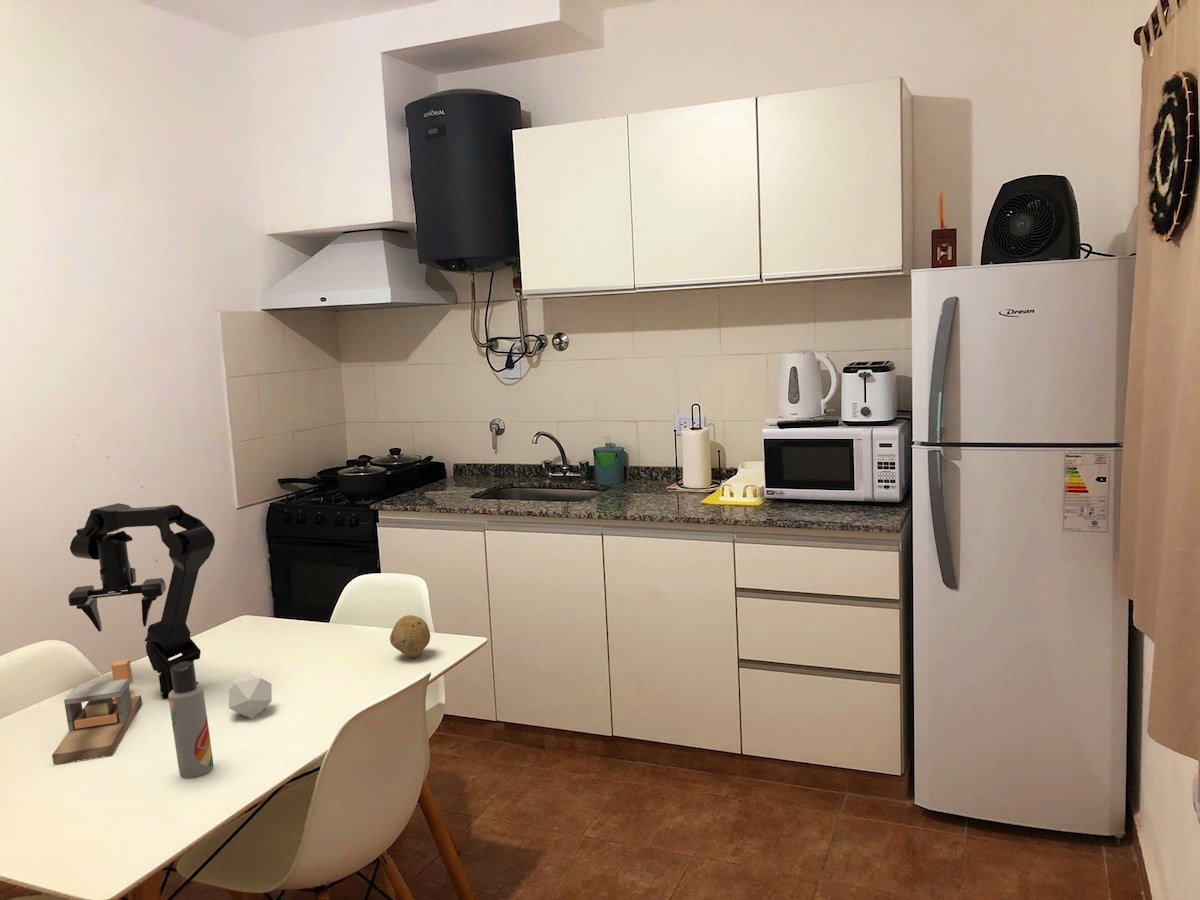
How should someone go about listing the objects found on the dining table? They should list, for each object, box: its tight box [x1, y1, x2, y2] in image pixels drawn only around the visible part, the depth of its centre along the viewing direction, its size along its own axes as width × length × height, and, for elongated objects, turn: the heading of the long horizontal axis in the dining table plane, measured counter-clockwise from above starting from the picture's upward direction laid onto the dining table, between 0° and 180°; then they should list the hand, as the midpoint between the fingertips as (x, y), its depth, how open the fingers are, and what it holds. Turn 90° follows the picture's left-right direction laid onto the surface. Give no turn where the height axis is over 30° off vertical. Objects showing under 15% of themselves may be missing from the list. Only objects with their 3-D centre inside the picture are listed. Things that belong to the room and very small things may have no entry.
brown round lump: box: [389, 614, 431, 659], centre depth 217 cm, size 9×9×10 cm
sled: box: [74, 658, 134, 729], centre depth 197 cm, size 8×24×5 cm, turn 14°
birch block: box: [84, 698, 114, 718], centre depth 189 cm, size 4×4×4 cm
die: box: [228, 672, 273, 720], centre depth 192 cm, size 8×9×10 cm
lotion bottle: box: [168, 661, 214, 779], centre depth 167 cm, size 6×6×20 cm
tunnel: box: [51, 679, 143, 765], centre depth 187 cm, size 10×25×8 cm, turn 14°
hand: (122, 628), depth 211 cm, fingers open, 9 cm apart
